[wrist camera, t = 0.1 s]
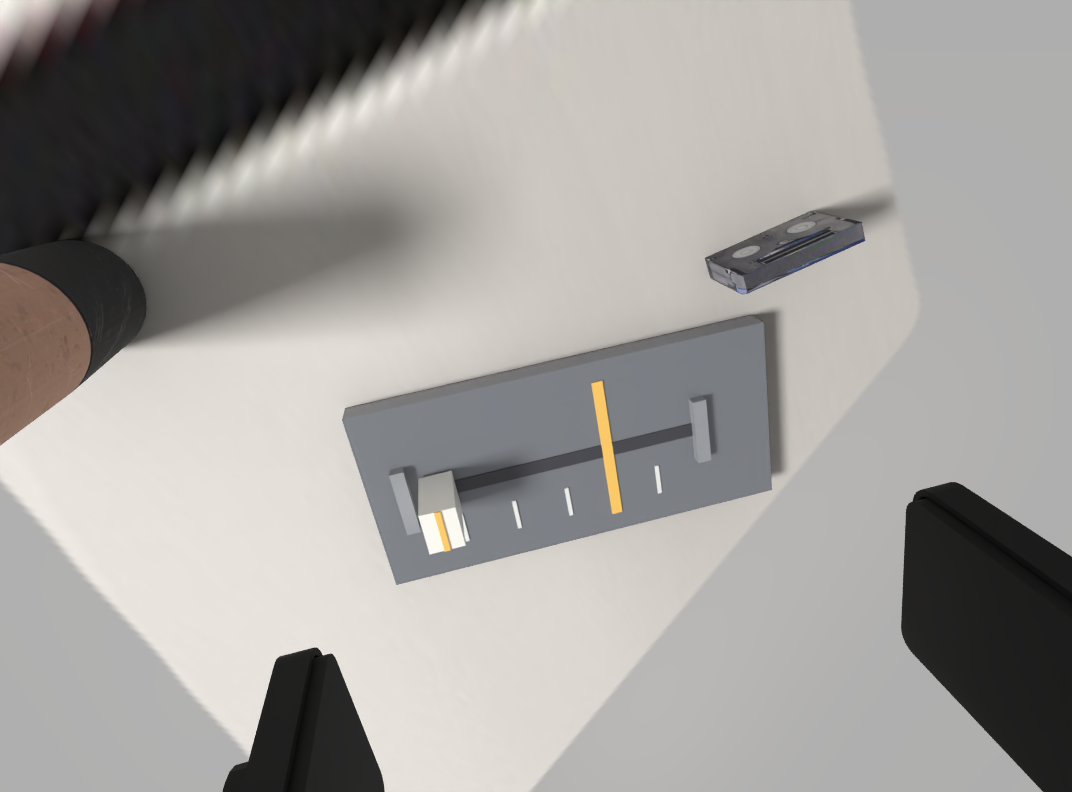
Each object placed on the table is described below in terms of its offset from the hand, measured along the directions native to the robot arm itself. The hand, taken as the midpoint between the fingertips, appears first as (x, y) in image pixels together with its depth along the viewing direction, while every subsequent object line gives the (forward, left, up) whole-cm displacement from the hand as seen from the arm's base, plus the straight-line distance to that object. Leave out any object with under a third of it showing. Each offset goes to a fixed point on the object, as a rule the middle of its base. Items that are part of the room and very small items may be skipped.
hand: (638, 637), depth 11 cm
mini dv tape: (+4, +20, -37) cm, 42 cm away
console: (+16, +4, -37) cm, 40 cm away
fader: (+16, -6, -34) cm, 38 cm away
